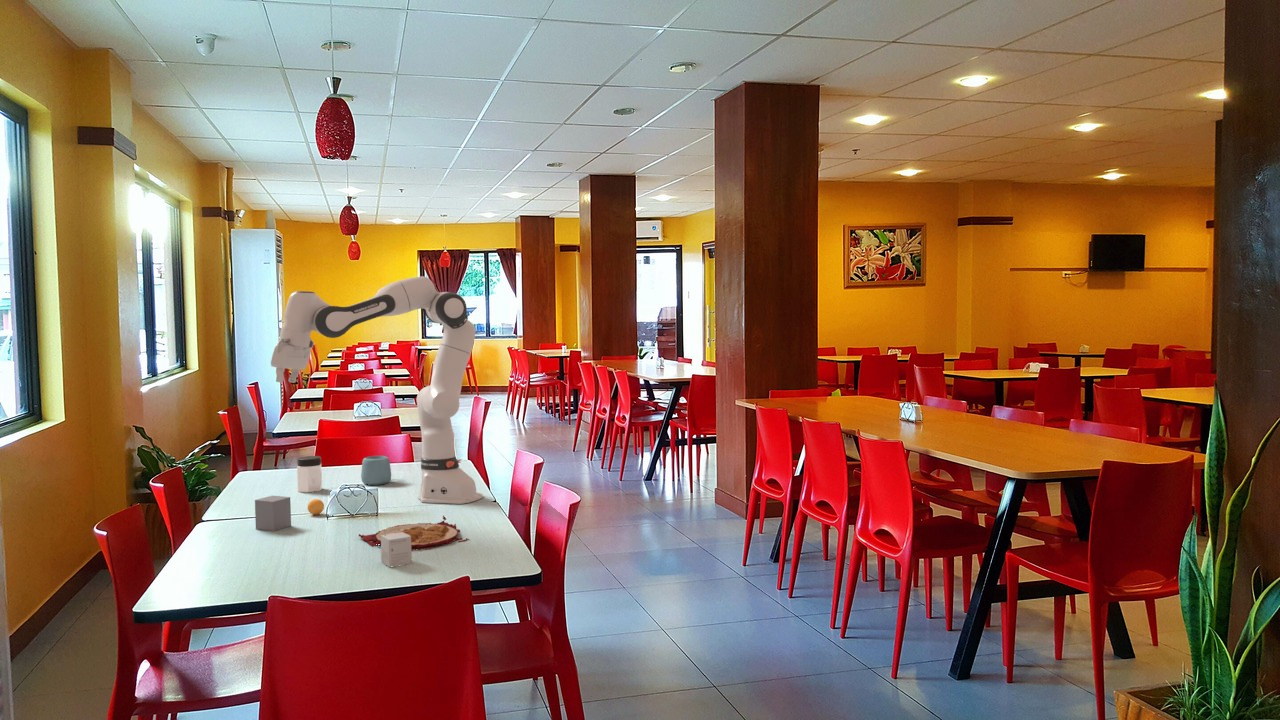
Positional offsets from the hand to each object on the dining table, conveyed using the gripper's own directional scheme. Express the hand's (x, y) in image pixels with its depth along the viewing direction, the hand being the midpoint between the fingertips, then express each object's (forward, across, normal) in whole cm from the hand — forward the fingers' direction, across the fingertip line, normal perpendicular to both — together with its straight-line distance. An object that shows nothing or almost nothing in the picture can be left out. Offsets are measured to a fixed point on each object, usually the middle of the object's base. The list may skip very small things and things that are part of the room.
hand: (285, 382), depth 283 cm
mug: (+35, +56, -20) cm, 69 cm away
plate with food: (+36, -28, -59) cm, 74 cm away
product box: (+37, -52, -59) cm, 87 cm away
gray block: (+43, -14, -11) cm, 46 cm away
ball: (+38, +3, -17) cm, 41 cm away
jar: (+40, +42, 0) cm, 58 cm away
